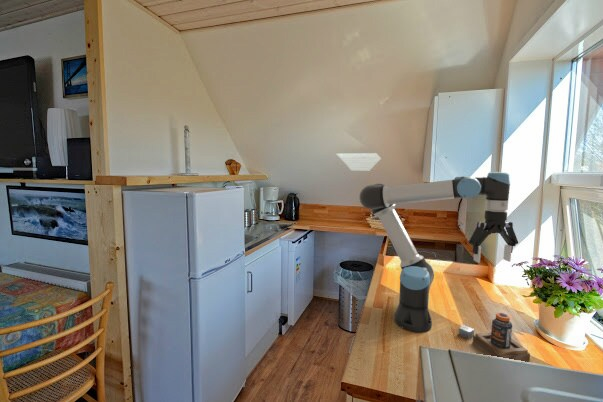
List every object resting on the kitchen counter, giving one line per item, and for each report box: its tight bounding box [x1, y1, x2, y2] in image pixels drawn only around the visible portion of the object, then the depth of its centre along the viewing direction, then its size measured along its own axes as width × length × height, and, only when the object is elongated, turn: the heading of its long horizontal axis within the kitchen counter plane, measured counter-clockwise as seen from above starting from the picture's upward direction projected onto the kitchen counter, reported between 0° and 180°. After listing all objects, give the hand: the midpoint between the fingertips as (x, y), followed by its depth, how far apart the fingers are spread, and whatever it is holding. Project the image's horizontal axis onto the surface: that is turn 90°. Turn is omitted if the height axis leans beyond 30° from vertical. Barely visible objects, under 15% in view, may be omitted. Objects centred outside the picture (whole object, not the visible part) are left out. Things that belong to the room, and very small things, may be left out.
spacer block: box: [458, 324, 475, 340], centre depth 112 cm, size 4×4×3 cm
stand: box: [472, 332, 531, 363], centre depth 102 cm, size 12×12×4 cm
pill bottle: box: [490, 312, 513, 349], centre depth 101 cm, size 6×6×11 cm
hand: (491, 261), depth 116 cm, fingers open, 13 cm apart
